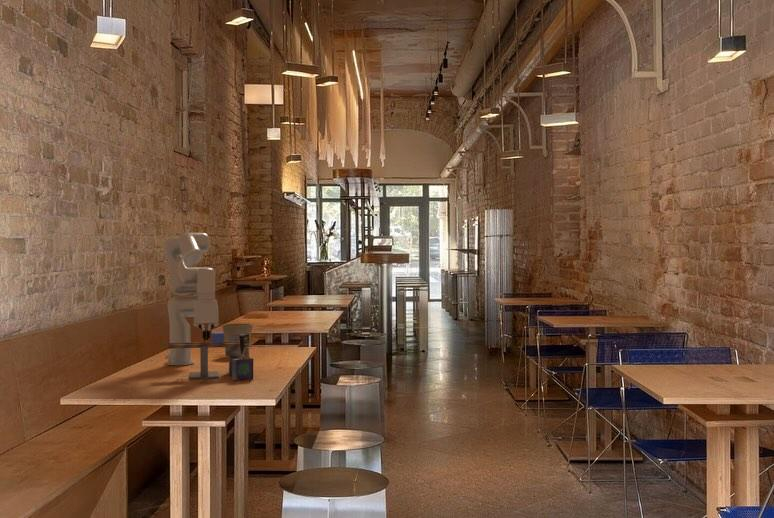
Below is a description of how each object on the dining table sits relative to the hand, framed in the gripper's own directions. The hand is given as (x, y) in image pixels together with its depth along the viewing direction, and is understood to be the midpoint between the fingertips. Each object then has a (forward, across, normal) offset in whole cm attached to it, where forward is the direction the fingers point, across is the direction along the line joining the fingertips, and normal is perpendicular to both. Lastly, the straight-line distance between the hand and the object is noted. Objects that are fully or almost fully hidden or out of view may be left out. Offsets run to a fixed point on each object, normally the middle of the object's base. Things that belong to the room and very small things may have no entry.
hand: (206, 339), depth 358 cm
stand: (+16, +3, 0) cm, 16 cm away
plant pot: (+16, +16, +63) cm, 66 cm away
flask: (+16, +15, -12) cm, 25 cm away
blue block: (+2, +5, 0) cm, 5 cm away
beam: (+7, -1, 0) cm, 7 cm away
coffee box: (+16, +14, +14) cm, 26 cm away
